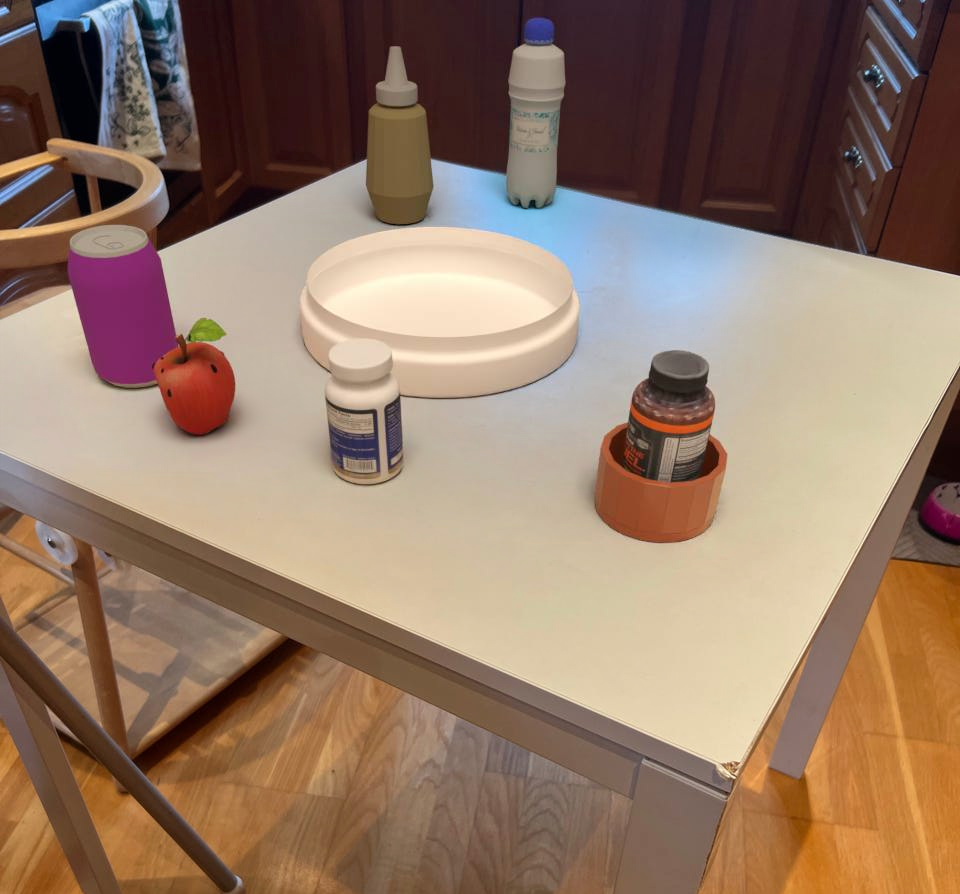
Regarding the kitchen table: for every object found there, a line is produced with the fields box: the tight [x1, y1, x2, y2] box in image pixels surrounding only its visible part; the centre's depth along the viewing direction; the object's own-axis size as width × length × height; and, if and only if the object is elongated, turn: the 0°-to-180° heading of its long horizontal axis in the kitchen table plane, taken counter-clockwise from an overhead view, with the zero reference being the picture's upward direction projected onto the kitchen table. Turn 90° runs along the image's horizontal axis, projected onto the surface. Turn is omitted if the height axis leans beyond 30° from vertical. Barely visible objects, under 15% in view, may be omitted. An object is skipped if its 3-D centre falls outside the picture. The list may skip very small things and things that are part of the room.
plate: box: [299, 226, 581, 399], centre depth 94 cm, size 27×27×6 cm
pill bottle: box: [324, 338, 404, 485], centre depth 75 cm, size 6×6×10 cm
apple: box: [152, 317, 236, 436], centre depth 78 cm, size 8×7×10 cm
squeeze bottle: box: [365, 45, 435, 225], centre depth 112 cm, size 8×8×18 cm
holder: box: [594, 421, 728, 544], centre depth 73 cm, size 9×9×5 cm
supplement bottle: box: [622, 349, 716, 482], centre depth 71 cm, size 6×6×11 cm
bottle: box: [505, 17, 567, 209], centre depth 116 cm, size 7×7×20 cm
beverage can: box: [67, 224, 179, 389], centre depth 84 cm, size 8×8×12 cm
